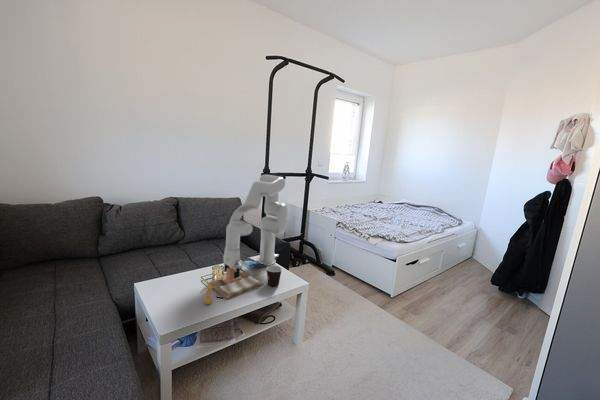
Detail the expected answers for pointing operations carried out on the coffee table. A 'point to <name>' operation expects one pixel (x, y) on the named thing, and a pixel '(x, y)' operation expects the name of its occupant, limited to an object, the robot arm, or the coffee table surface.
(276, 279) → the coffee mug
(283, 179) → the robot arm
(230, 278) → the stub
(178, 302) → the coffee table surface
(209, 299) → the figurine
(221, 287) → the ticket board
